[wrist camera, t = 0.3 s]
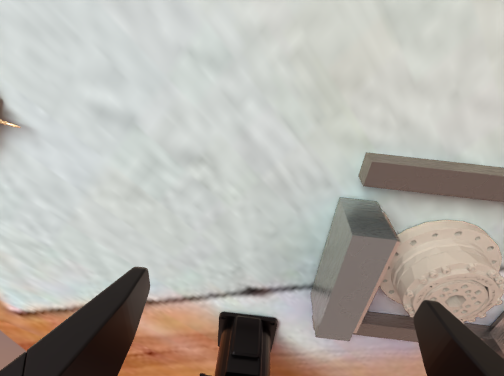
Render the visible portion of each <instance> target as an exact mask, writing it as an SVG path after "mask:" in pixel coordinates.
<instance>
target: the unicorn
mask: <svg viewBox="0 0 504 376" xmlns="http://www.w3.org/2000/svg"><path fill="white" fill-rule="evenodd" d="M0 124H4V125H9V126H12V127H18V128H21V127H19V126H17V125H15V124H12V123H8V122H7V121H3V120H1V119H0Z"/></svg>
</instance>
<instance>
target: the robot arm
mask: <svg viewBox="0 0 504 376" xmlns="http://www.w3.org/2000/svg"><path fill="white" fill-rule="evenodd" d="M149 290H150V281H149V273H148V269H147V268H144V267H134V268H132V269H131V270H129V271H128V272H127V273H125V274H124V275H123V276H122V277H120V278H119V279H118V280H116V281H115V282H114V283H113V284H111V285H110V286H109V287H108V288H106V289H105V290H104V291H102V292H101V293H100V294H99V295H97V296H96V297H95V298H93V299H92V300H91V301H90V302H88V303H87V304H86V305H84V306H83V307H82V308H81V309H79V310H78V311H77V312H75V313H74V314H73V315H72V316H70V317H69V318H68V319H66V320H65V321H64V322H63V323H61V324H60V325H59V326H57V327H56V328H55V329H54V330H52V331H51V332H50V333H48V334H47V335H46V336H45V337H43V338H42V339H41V340H39V341H38V342H37V343H36V344H34V345H33V346H32V347H30V348H29V349H28V350H27V353H26V352H24V353H23V354H21V355H20V356H19V357H18V358H16V359H15V360H14V361H12V362H11V363H10V364H8V365H7V366H6V367H4V368H3V369H2V370H1V371H0V376H117V375H118V373H119V371H120V369H121V367H122V364H123V362H124V360H125V358H126V355H127V353H128V351H129V349H130V346H131V344H132V342H133V339H134V337H135V334H136V331H137V328H138V325H139V322H140V318H141V315H142V312H143V309H144V306H145V303H146V300H147V297H148V294H149ZM413 322H414V326H415V330H416V334H417V339H418V343H419V347H420V351H421V355H422V359H423V363H424V366H425V370H426V373H427V376H504V359H503V358H502V357H501V356H500V355H499V354H498V353H496V352H495V351H494V350H493V349H492V348H491V347H490V346H488V345H487V344H486V343H485V342H484V341H483V340H482V339H480V338H479V337H478V336H477V335H476V334H475V333H474V332H472V331H471V330H470V329H469V328H468V327H467V326H466V325H464V324H463V323H462V322H461V321H460V320H459V319H458V318H456V317H455V316H454V315H453V314H452V313H451V312H450V311H448V310H447V309H446V308H445V307H444V306H443V305H442V304H440V303H439V302H437V301H432V300H424V301H422V302H421V304H420V306H419V308H418V309H417V311H416V313H415V314H414V318H413ZM276 327H277V320H276V319H275V318H268V317H260V316H252V315H243V314H235V313H226V312H222V313H220V316H219V331H218V346H219V352H218V358H217V364H216V370H215V376H270V352H271V349H272V344H273V340H274V336H275V331H276ZM200 376H210V375H206V374H203V373H200Z"/></svg>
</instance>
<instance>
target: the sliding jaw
mask: <svg viewBox="0 0 504 376" xmlns="http://www.w3.org/2000/svg"><path fill="white" fill-rule="evenodd" d="M400 242H401V241H400V239H399V238H398V236H397V234H396V232H395V230H394V228H393V226H392V225H391V223H390V221H389V219H388V217H387V215H386V213H385V212H382V210H381V209H380V207H379V205H378V203H377V201H368V200H359V199H350V198H341V197H340V198H339V201H338V204H337V208H336V211H335V214H334V218H333V221H332V224H331V227H330V231H329V234H328V237H327V241H326V244H325V247H324V251H323V254H322V257H321V261H320V264H319V267H318V271H317V274H316V277H315V280H314V284H313V287H312V290H311V302H312V311H313V319H314V327H315V335H316V337H319V338H327V339H336V340H344V341H350V339H351V337H352V334H353V333H357V331H358V329H359V327H360V325H361V323H362V321H363V318H364V316H365V314H366V312H367V310H368V308H369V306H370V304H371V302H372V300H373V298H374V296H375V294H376V292H377V290H378V288H379V286H380V284H381V282H382V279H383V277H384V275H385V273H386V271H387V269H388V267H389V265H390V263H391V261H392V259H393V257H394V255H395V253H396V251H397V249H398V247H399V245H400Z"/></svg>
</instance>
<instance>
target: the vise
mask: <svg viewBox="0 0 504 376" xmlns="http://www.w3.org/2000/svg"><path fill="white" fill-rule="evenodd" d="M359 178H360V180H361V182H362V184H363V186H367V187H376V188H385V189H394V190H403V191H412V192H421V193H430V194H439V195H448V196H457V197H466V198H474V199H483V200H492V201H501V202H504V168H501V167H492V166H483V165H474V164H465V163H456V162H447V161H438V160H429V159H420V158H411V157H402V156H393V155H384V154H375V153H366V154H365V158H364V161H363V164H362V167H361V170H360V173H359ZM413 318H414V317H409V316H400V315H392V314H383V313H375V312H366V314H365V316H364V318H363V321H362V323H361V325H360V327H359V329H358V331H357V333H353V334H354V335H363V336H371V337H379V338H388V339H396V340H405V341H413V342H418V339H417V334H416V330H415V326H414V322H413ZM312 319H313V316H312ZM464 325H466V326H467V327H468V328H469V329H470V330H471V331H472V332H474V333H475V334H476V335H477V336H478V337H479V338H480V339H482V340H483V341H484V342H485V343H486V344H487V345H488V346H490V347H491V348H492V349H493V350H494V351H495V352H496V353H498V354H499V355H500V356H501V357H502V358H503V359H504V312H503V313H502V314H501V315H500V316H499V317H498V318H497V320H496V321H495V322H494V323H493V324H492V325H491V326H485V325H476V324H468V323H464ZM313 328H314V330H315V327H314V319H313Z"/></svg>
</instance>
